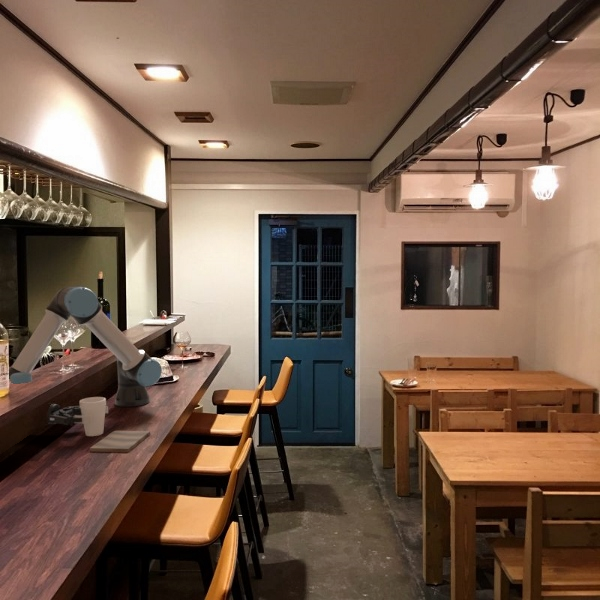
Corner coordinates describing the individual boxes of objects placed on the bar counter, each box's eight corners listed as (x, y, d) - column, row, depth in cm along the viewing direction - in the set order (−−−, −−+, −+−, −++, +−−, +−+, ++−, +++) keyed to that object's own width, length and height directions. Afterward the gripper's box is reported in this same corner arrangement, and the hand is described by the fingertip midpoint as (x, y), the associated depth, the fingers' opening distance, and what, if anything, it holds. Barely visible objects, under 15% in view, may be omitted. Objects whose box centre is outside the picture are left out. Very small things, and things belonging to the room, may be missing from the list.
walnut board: (114, 433, 230) (114, 430, 230) (150, 434, 228) (150, 431, 228) (89, 451, 210) (89, 448, 210) (128, 452, 209) (128, 448, 208)
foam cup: (80, 438, 225) (78, 404, 224) (82, 431, 234) (80, 398, 233) (107, 435, 228) (105, 401, 227) (108, 428, 237) (106, 396, 236)
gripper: (64, 414, 246) (114, 415, 243) (29, 433, 221) (84, 434, 218) (63, 396, 245) (113, 396, 242) (27, 413, 220) (83, 413, 217)
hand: (99, 414), depth 230 cm, fingers open, 13 cm apart
